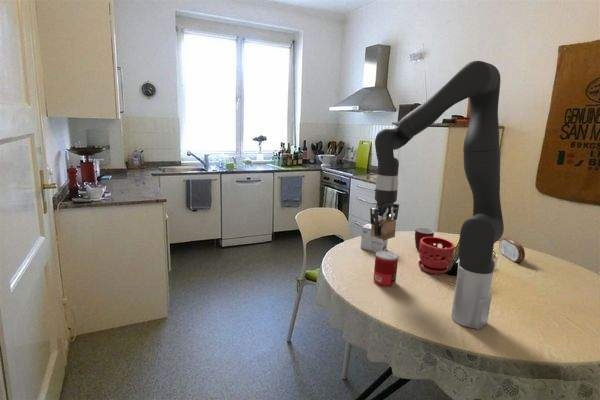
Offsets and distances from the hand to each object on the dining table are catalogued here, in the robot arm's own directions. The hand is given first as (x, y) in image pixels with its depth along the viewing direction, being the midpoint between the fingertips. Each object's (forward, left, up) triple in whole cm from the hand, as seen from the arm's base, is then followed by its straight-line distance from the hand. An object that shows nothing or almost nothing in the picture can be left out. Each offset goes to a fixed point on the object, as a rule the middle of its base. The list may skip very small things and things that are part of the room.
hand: (383, 233), depth 127 cm
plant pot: (-6, -28, -19) cm, 34 cm away
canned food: (-1, -2, -19) cm, 19 cm away
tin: (-20, -68, -19) cm, 73 cm away
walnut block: (0, 0, -1) cm, 1 cm away
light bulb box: (+23, -26, -19) cm, 39 cm away
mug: (+9, -43, -19) cm, 48 cm away
